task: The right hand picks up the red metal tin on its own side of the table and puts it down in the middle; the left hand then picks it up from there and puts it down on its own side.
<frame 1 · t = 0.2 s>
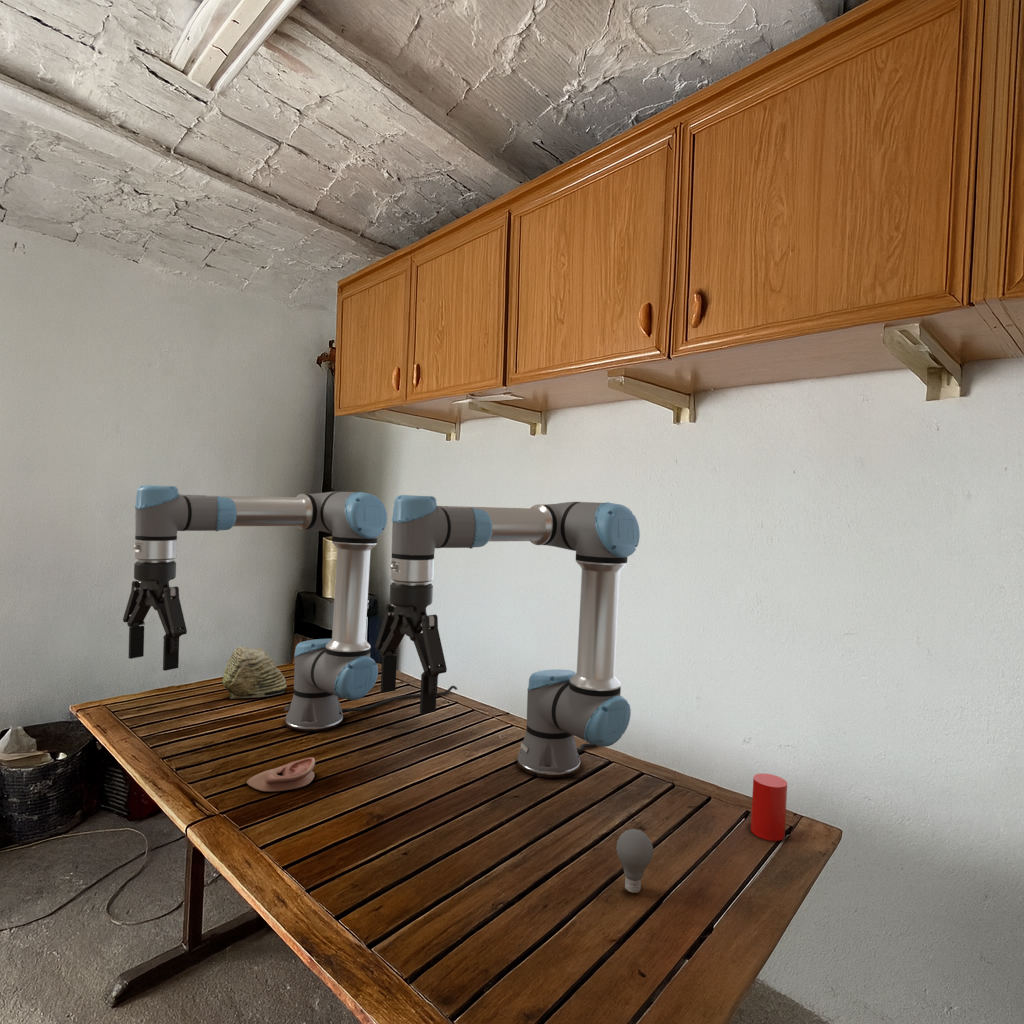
left hand: (152, 663, 131), 28 cm above the table, tool pointing down, fingers open, 13 cm apart
right hand: (407, 701, 112), 28 cm above the table, tool pointing down, fingers open, 13 cm apart
fossil: (254, 694, 198), on the table
tin: (767, 832, 127), on the table
light bulb: (632, 891, 106), on the table
anatomical model: (281, 781, 140), on the table
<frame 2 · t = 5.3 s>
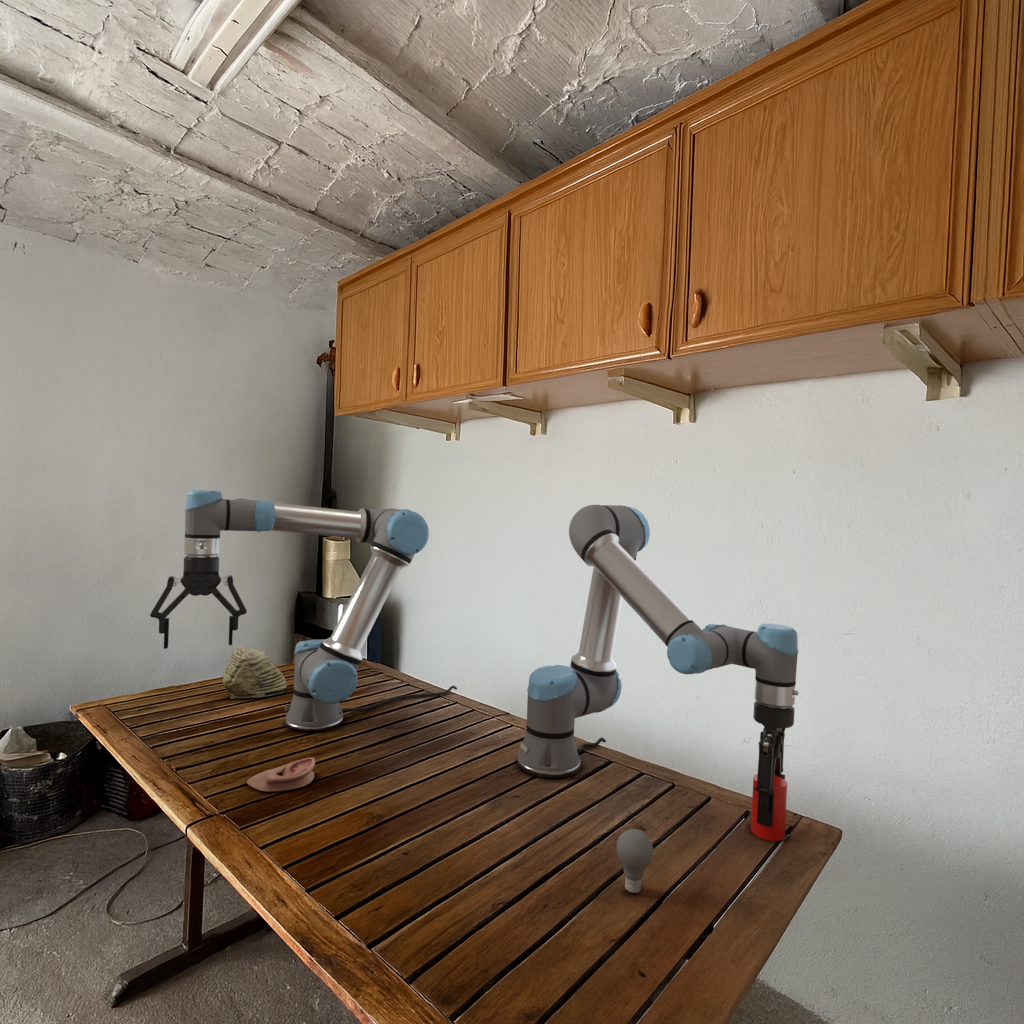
left hand: (198, 645, 149), 27 cm above the table, tool pointing down, fingers open, 13 cm apart
right hand: (768, 817, 127), 3 cm above the table, tool pointing down, fingers closed on tin, 6 cm apart
tin: (767, 832, 127), on the table, touching right hand
everything else where it was.
when the right hand's fingers open (5 cm above the table, at t = 17.1 s): tin drops 2 cm, on the table.
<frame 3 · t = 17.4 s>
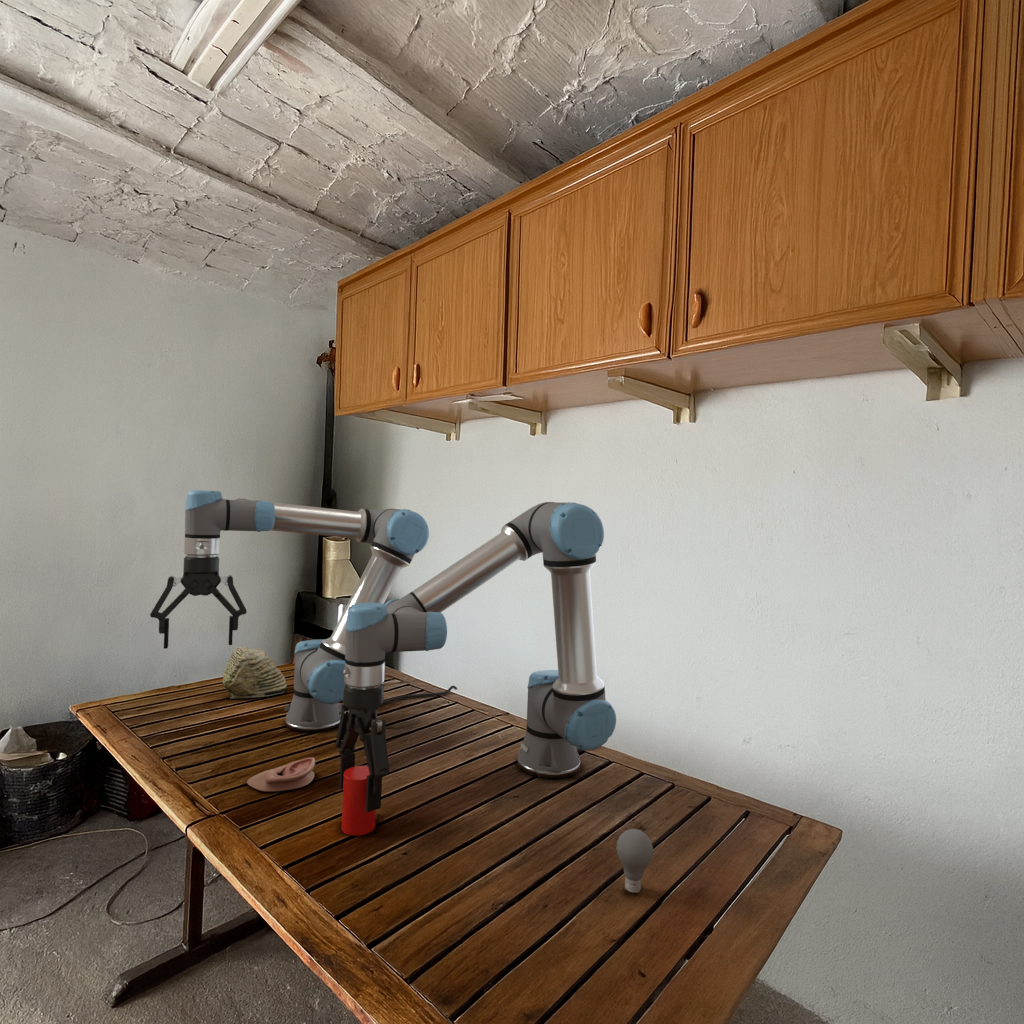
left hand: (198, 645, 149), 27 cm above the table, tool pointing down, fingers open, 13 cm apart
right hand: (359, 797, 122), 6 cm above the table, tool pointing down, fingers open, 10 cm apart
tin: (358, 827, 122), on the table
everything else where it was.
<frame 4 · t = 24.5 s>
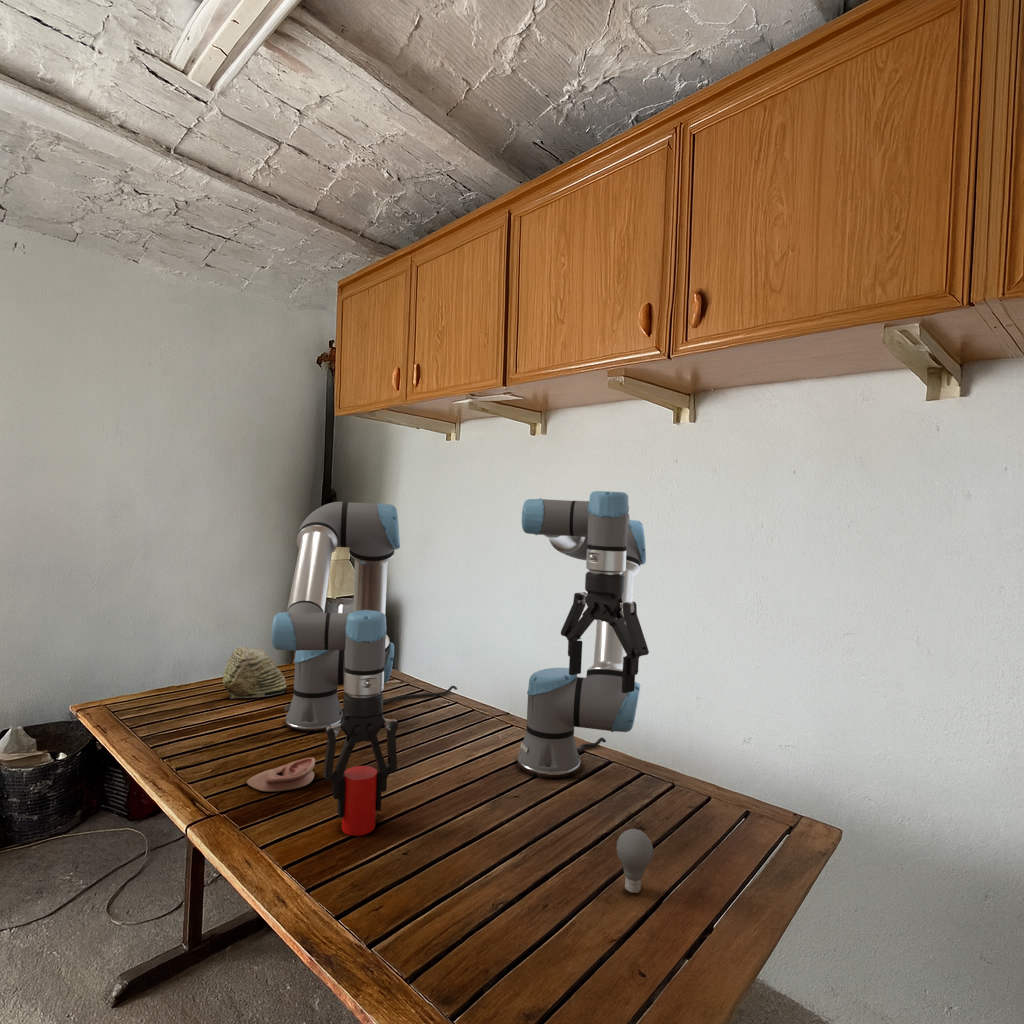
left hand: (359, 810, 122), 3 cm above the table, tool pointing down, fingers closed on tin, 6 cm apart
right hand: (600, 682, 121), 30 cm above the table, tool pointing down, fingers open, 13 cm apart
tin: (358, 827, 122), on the table, touching left hand
everything else where it was.
when the left hand's fingers open (5 cm above the table, at t = 37.4 s): tin drops 2 cm, on the table.
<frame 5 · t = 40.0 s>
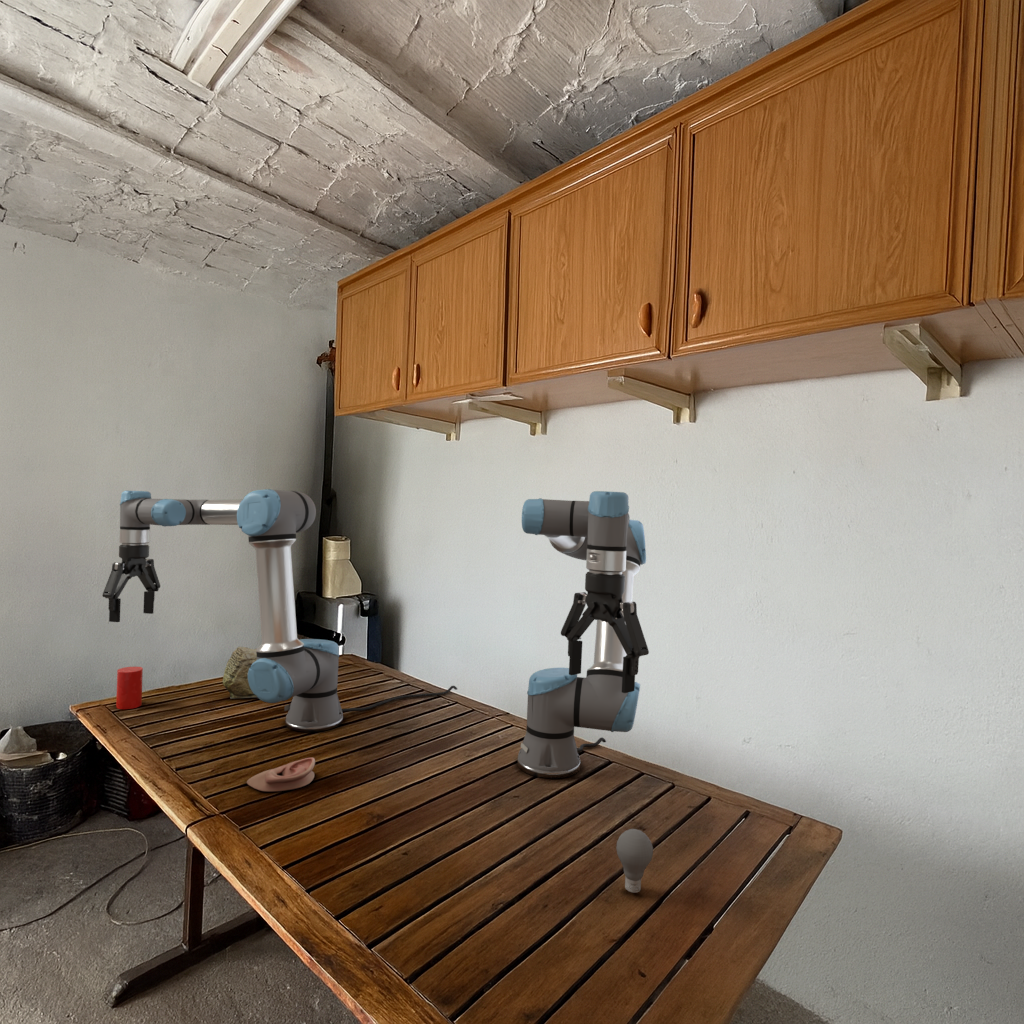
left hand: (132, 617, 183), 26 cm above the table, tool pointing down, fingers open, 13 cm apart
right hand: (600, 682, 121), 30 cm above the table, tool pointing down, fingers open, 13 cm apart
tin: (128, 705, 183), on the table
everything else where it was.
at the end: tin inside the target area (0.0 cm from its centre), on the table; tin tilted 0°; the two hands never held the tin at the same time; the left hand is holding nothing; the right hand is holding nothing; tin at rest at the end (0.0 cm/s) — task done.
